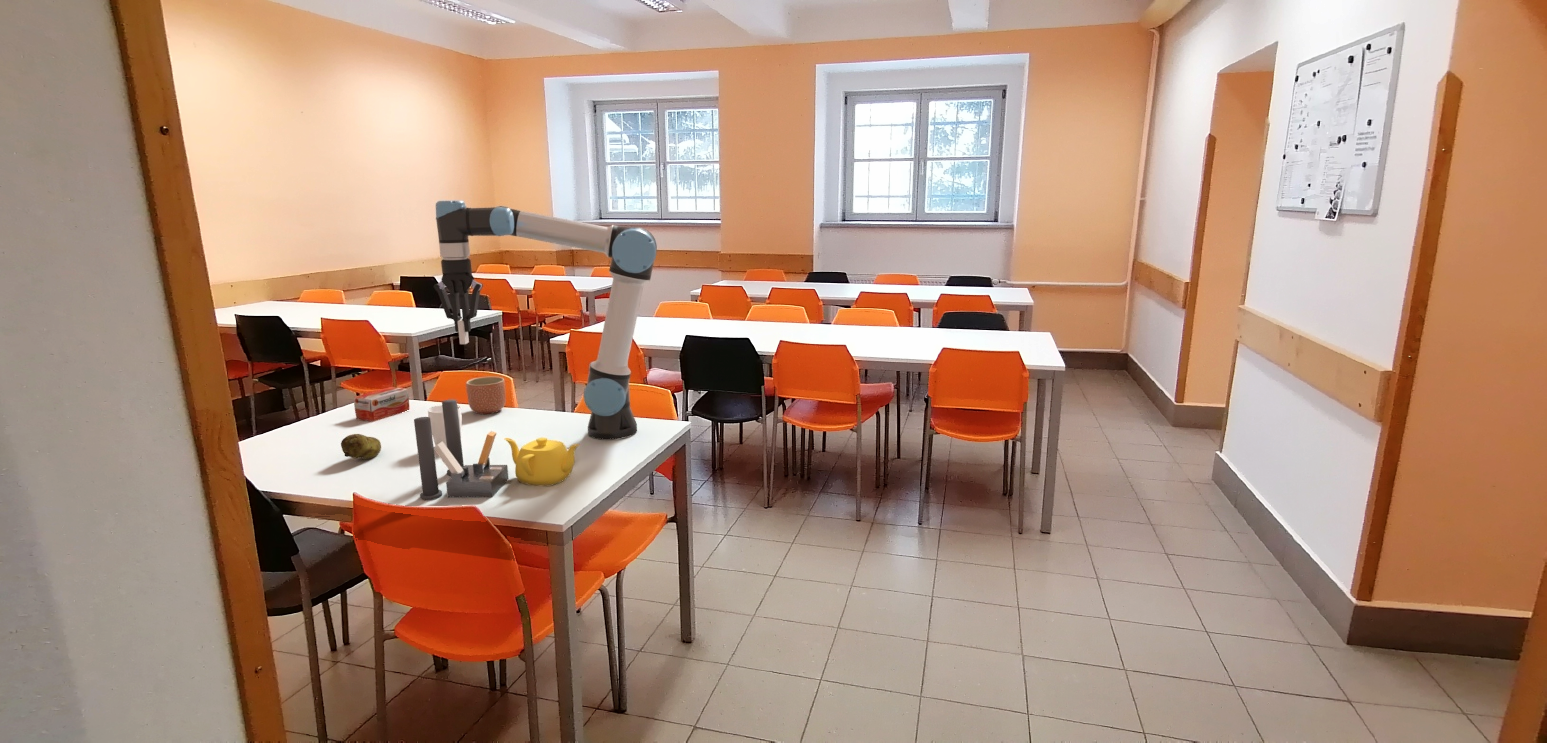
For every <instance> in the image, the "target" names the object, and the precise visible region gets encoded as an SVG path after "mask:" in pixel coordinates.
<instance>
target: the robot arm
mask: <svg viewBox="0 0 1547 743" xmlns="http://www.w3.org/2000/svg"><path fill="white" fill-rule="evenodd" d="M435 220H436V227H437V235H438V245H439V254H440V257H441V261H440V266H441V273H442V276H441V278H440V279H441V280H440V281H439V282H438V283H436V284H434V285H433V289H434V290H435V291H436V292H437V294H438V296H439V299H440V302H441V304H442V305H441V306H442V307H443V310H444V313H445V317H446V318H447V319H450V320H453V322H454V331H455V332H456V333H458V337H459V345H467V344H468V343H470V341H469V340H470V339H469V332H471V330H472V326H471V319H473V318H475V317H477V315H478V314H477V313H478V310H479V309H478V308H479V301H480V293H481V290H482V288H483V287H484V284H483V283H482V282H478V281H477V280H475V277H474V276H473V274H472V273H473V271H472V260H471V259H470V258H469V257H471V252H470V242H469V237H474V236H475V237H476V236H477V237H479V236H481V237H482V236H483V237H484V236H486V237H492V236H493V237H495V236H496V237H504V236H512V237H519V238H524V239H527V240H528V239H530V240H534V241H541V242H545V243H550V244H556V245H560V246H565V247H571V248H577V249H582V250H586V251H593V252H595V253H596V252H597V253H602V254H605V256H606V257H607V258H610V259H611V261H610V265H609V270H608V273H610V276H611V277H612V283H611V288H610V294H609V297H608V298H609V299H608V303H607V308H606V314H605V318H604V319H605V320H604V324H603V330H602V333H601V338H600V339H601V340H600V343H599V344H600V345H599V348H598V352H597V358H596V360H595V361H591V362H590V363H589V368H588V376H587V382H586V386H585V388H584V390H583V400H584V405H586V408H587V409H588V410H589V411H590V412H591V413H590V417H589V421H588V424H587V435H588V436H589V437H590V438H592V439H596V440H604V441H605V440H606V441H607V440H617V439H623V438H629V437H631V436H633V435H635V434H636V433H637V432H638V424H637V421H636V418H635V416H634V413H633V411H632V409H631V401H630V400H631V399H630V398H631V397H630V379H631V373H632V371H631V369H630V368H629V363H628V362H629V358H630V352H631V349H632V342H633V338H634V334H635V328H636V323H637V319H638V315H639V308H640V304H641V300H642V295H643V290H644V285H646V284H647V283H649V282H650V281H651V278H652V274H653V268H654V263H655V260H656V256H657V250H658V249H657V246H658V244H657V242H656V238H655V237H654V235H653V234H652V233H651V232H650V231H649V230H647V229H646V228H644V227H640V226H621V225H617V224H611V225H610V226H603V225H597V224H592V223H586V222H581V221H578V220H577V221H576V220H571V219H567V218H566V219H565V218H561V217H558V216H557V217H555V216H550V215H545V214H540V213H537V212H536V213H535V212H530V211H524V210H520V209H519V210H518V209H514V208H509V207H507V206H503V205H499V206H493V207H492V206H491V207H467V206H466V203H465V201H464V200H438V201H437V202H436V203H435ZM471 287H472V293H471V300H469V292H470V291H469V290H470V289H471ZM446 289H447V290H448V291H449V296H450V298H449V296H448V293H447V290H446ZM450 300H451V301H450Z"/></svg>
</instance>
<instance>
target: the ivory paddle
mask: <svg viewBox="0 0 1547 743" xmlns="http://www.w3.org/2000/svg"><path fill="white" fill-rule="evenodd" d="M433 448H434V452H435V453H436V454H437V455H438V456H439V458H440V460H441V461H442V462H443V464H444V465H445V466H446V467H447V470H448V469H449V470H450V472H451V473H461V476H462V477H463V476H464V475H465V473H466V472H465V470H463V469H462V467H461V466H460V465H459V463H458V462H457V461H456V459H455V458H454V456H453V455H452V454H451V452H450V451H449V450H448V448H447V447H446V445H445V444H444V443H443V441H442V442H440V443H439V444H437V445H436V446H435V445H434V447H433Z"/></svg>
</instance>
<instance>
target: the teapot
mask: <svg viewBox="0 0 1547 743" xmlns="http://www.w3.org/2000/svg"><path fill="white" fill-rule="evenodd" d="M504 440H505V441H506V442H507V443H508V444H509V445H510V449H511V456H512V461H513V463H514V465H515V468H514V469H515V471H514V473H515V477H516V479H517V480H518V481H519V482H520V484H521V483H522V484H524V483H525V485H529V484H530V486H538V485H548V486H553V485H552V484H555V485H557V484H556V483H558V484H560V483H562V482H563V481H564V480H566V479H567V478H568V477H570V475H571V473H572V471H573V467H574V465H575V451H576V449H577V447H579V446H580V443H577V444H576V443H575V444H572V445H570V446H569V448H567V447H566V445H565V444H564V442H562V441H559V440H554V439H548V438H547V437H539V438H536V439H535V440H532V441H529V442H528V443H526V444H524V445H523V446H521V447H520V449H519V446H518V444H517V442H516V440H514V439H512V438H508V437H504ZM565 478H566V479H565ZM562 480H563V481H562ZM559 482H560V483H559Z"/></svg>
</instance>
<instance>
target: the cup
mask: <svg viewBox="0 0 1547 743" xmlns="http://www.w3.org/2000/svg"><path fill="white" fill-rule="evenodd" d="M457 408H458V417H459V427H460V436H461V437H462V426H463V425H462V422H463V421H462V418H463V416H462V411H461V406H460V405H458V404H457ZM427 414H428V416H427V417H430V421H431V429H432V438H433V443H434V447H435V446H436V445H437V444H439V443H440V442H442V441H443V443H444V444H445V445H446V447H447V443H446V434H445V425H444V417H443V408H442V404H439V405H436V406H432V407H430V408H429V409H427Z"/></svg>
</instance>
